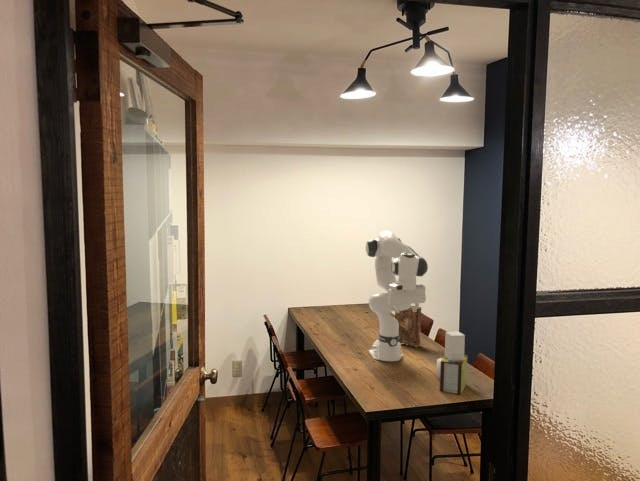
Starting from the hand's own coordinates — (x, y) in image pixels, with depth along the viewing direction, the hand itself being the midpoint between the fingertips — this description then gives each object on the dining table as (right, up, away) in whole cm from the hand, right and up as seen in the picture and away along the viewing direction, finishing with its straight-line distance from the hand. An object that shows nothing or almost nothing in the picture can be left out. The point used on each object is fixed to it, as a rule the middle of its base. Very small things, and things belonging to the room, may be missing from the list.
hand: (406, 312), depth 245 cm
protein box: (+23, -38, -1) cm, 45 cm away
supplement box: (+23, -23, -3) cm, 33 cm away
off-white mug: (+23, -37, +13) cm, 45 cm away
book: (+13, -31, +70) cm, 78 cm away
